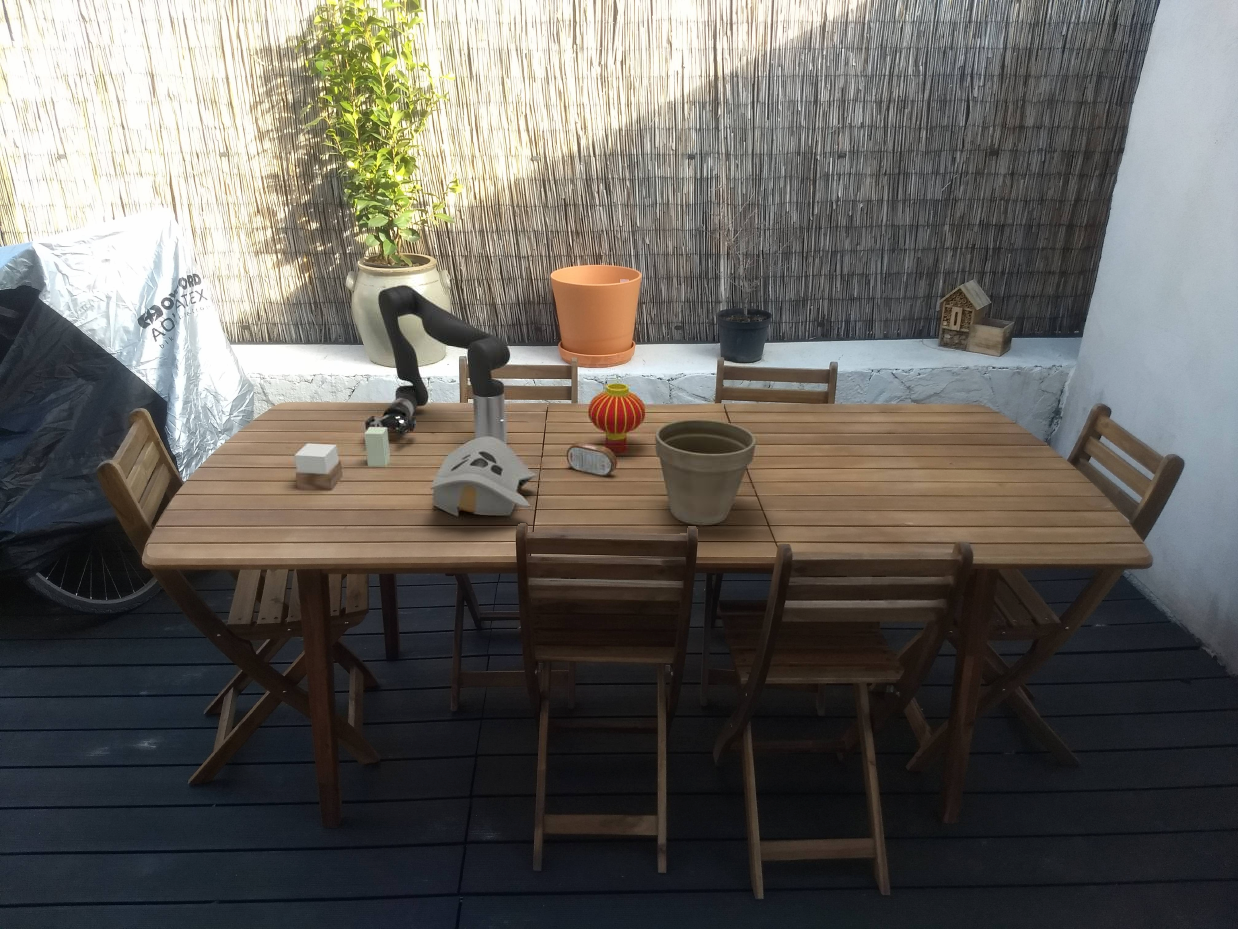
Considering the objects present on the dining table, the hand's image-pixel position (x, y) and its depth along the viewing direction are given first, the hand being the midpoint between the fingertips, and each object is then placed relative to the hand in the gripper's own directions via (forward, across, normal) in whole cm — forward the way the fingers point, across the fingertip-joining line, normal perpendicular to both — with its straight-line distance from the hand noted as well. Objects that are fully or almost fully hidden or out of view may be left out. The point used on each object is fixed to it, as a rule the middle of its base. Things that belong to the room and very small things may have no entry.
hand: (384, 432), depth 235 cm
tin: (+11, +61, +6) cm, 62 cm away
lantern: (-6, +68, +6) cm, 69 cm away
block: (+8, 0, +6) cm, 10 cm away
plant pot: (+34, +90, +6) cm, 96 cm away
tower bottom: (+22, -12, +6) cm, 26 cm away
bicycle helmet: (+33, +34, +6) cm, 48 cm away
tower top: (+22, -12, +1) cm, 25 cm away
